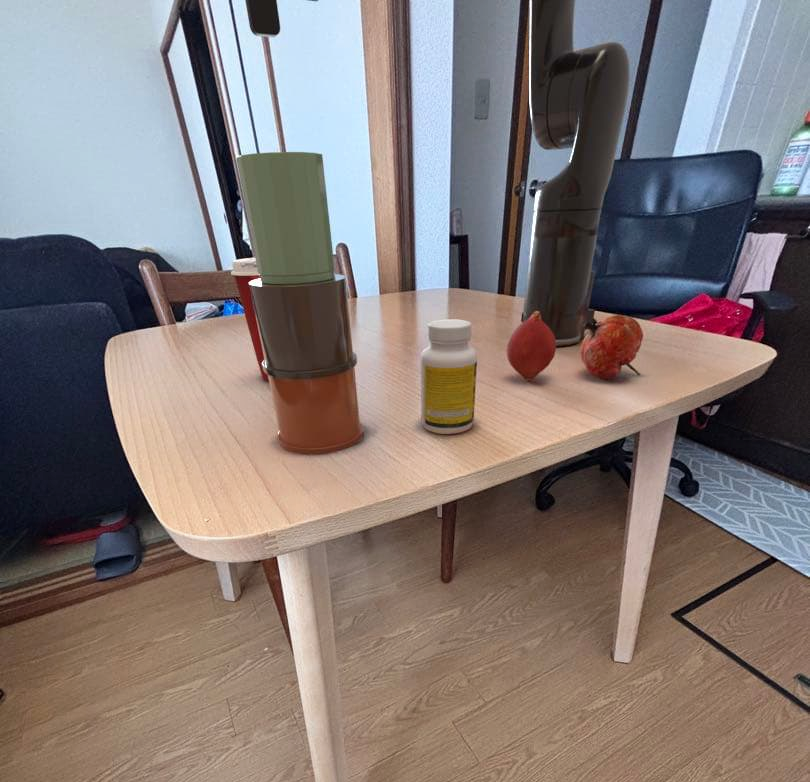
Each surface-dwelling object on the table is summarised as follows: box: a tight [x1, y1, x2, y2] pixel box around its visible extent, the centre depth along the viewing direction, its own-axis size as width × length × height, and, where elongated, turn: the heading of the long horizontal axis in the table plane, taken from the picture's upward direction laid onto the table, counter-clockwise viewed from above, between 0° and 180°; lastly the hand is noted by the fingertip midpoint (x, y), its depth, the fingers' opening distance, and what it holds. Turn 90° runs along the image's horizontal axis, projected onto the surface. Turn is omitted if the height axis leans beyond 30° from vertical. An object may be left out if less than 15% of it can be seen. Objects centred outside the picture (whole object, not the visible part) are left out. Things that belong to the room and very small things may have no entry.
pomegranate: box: [580, 314, 644, 380], centre depth 58 cm, size 7×7×10 cm
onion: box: [506, 311, 557, 381], centre depth 57 cm, size 6×6×8 cm
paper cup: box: [230, 257, 269, 382], centre depth 61 cm, size 8×8×14 cm
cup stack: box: [249, 273, 365, 455], centre depth 43 cm, size 9×9×14 cm
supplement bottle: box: [420, 318, 478, 435], centre depth 46 cm, size 5×5×10 cm
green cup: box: [235, 151, 336, 285], centre depth 37 cm, size 6×6×8 cm
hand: (285, 18), depth 33 cm, fingers open, 8 cm apart
